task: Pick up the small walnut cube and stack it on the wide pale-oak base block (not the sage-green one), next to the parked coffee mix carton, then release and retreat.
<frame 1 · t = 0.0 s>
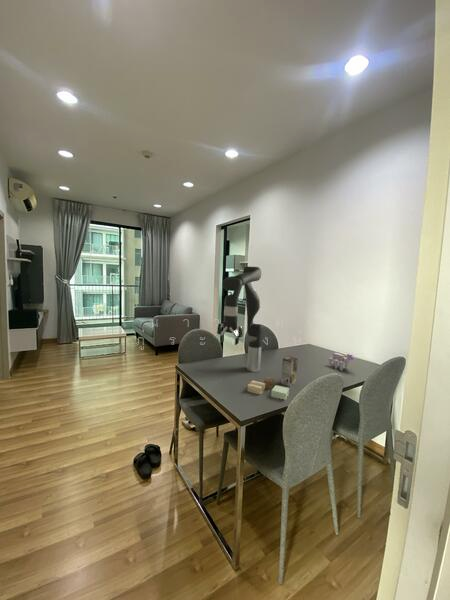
hand: (229, 343, 144), 29 cm above the table, fingers open, 8 cm apart
walnut cube: (268, 386, 160), on the table
toy sheep: (342, 369, 199), on the table
oak base block: (256, 390, 154), on the table
coffee box: (288, 382, 168), on the table
sage base block: (280, 396, 149), on the table
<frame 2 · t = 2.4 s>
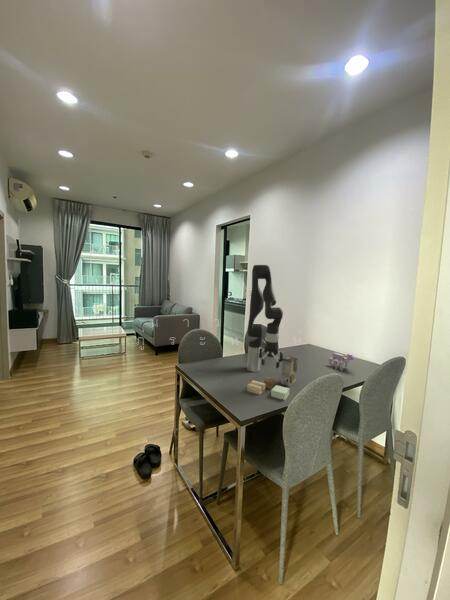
hand: (270, 366, 159), 13 cm above the table, fingers open, 8 cm apart
nothing on the table moved.
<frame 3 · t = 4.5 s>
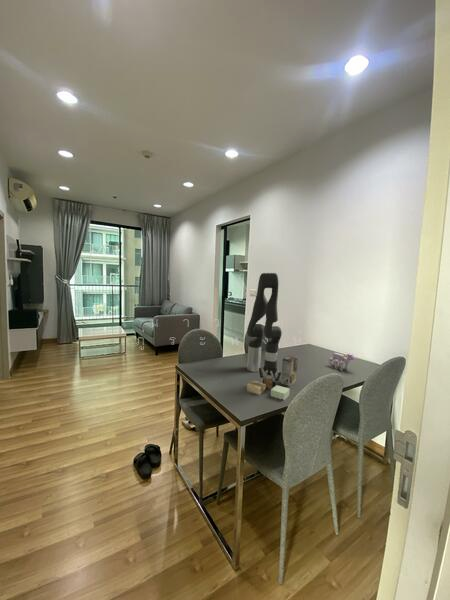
hand: (268, 385, 160), 1 cm above the table, fingers closed on walnut cube, 5 cm apart
walnut cube: (268, 386, 160), on the table, touching gripper
everything else where it was.
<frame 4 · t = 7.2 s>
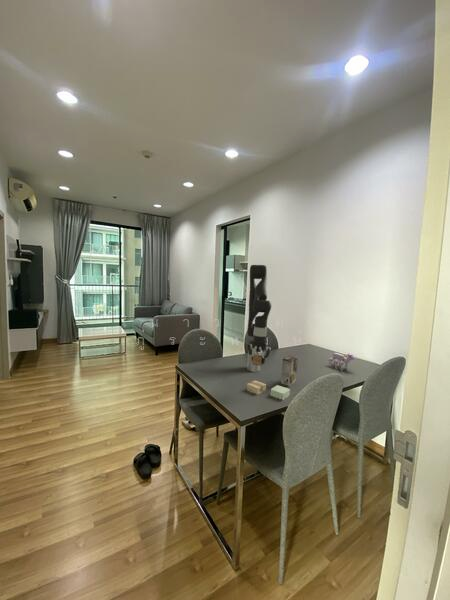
hand: (258, 362, 153), 17 cm above the table, fingers closed on walnut cube, 5 cm apart
walnut cube: (258, 364, 153), point 16 cm above the table, touching gripper
everything else where it was.
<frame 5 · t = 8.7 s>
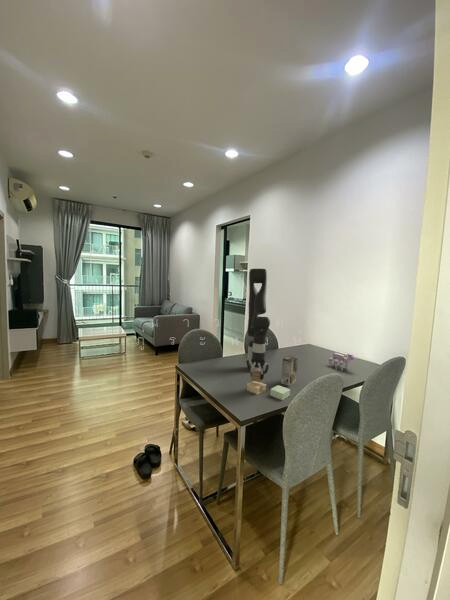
hand: (256, 378, 153), 7 cm above the table, fingers closed on walnut cube, 5 cm apart
walnut cube: (256, 379, 153), point 6 cm above the table, touching gripper
everything else where it was.
when the fingers open (6 cm above the table, at t = 9.9 s): walnut cube drops 1 cm, resting on oak base block.
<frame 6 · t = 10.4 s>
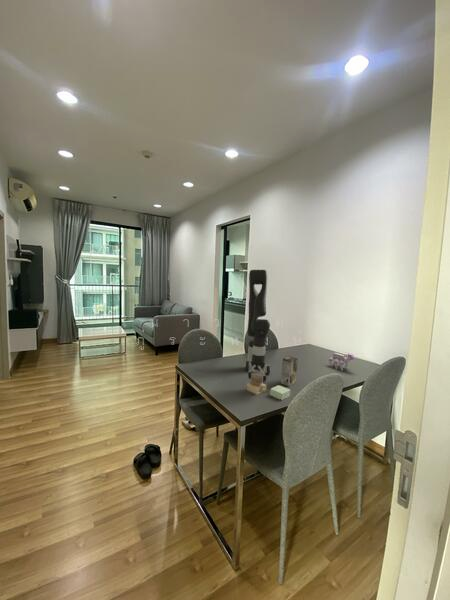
hand: (256, 379, 154), 6 cm above the table, fingers open, 8 cm apart
walnut cube: (256, 384, 154), point 4 cm above the table, touching oak base block
oak base block: (256, 390, 154), on the table, touching walnut cube
everything else where it was.
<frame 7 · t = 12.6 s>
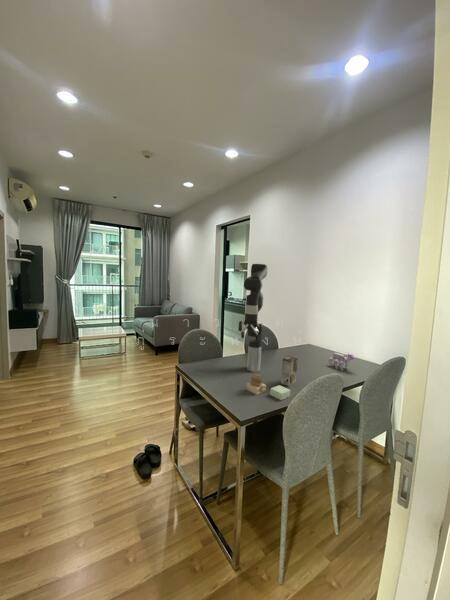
hand: (249, 339, 156), 29 cm above the table, fingers open, 8 cm apart
walnut cube: (256, 384, 154), point 4 cm above the table
oak base block: (256, 390, 154), on the table
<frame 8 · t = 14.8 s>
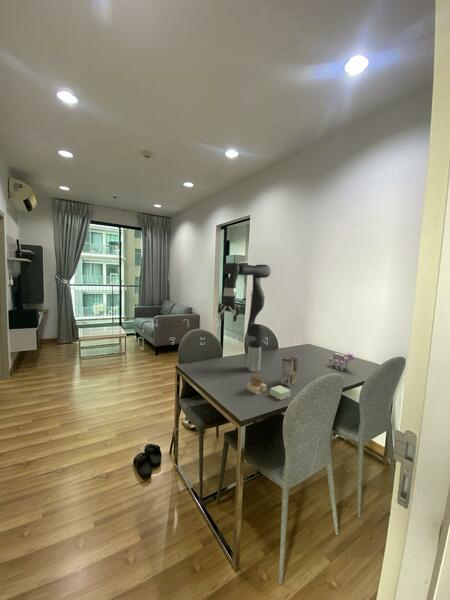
hand: (228, 320, 165), 38 cm above the table, fingers open, 8 cm apart
at the end: walnut cube inside the target area on the oak base block (0.3 cm from its centre), point 4.0 cm above the oak base block's base; walnut cube tilted 0°; the gripper is holding nothing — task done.
